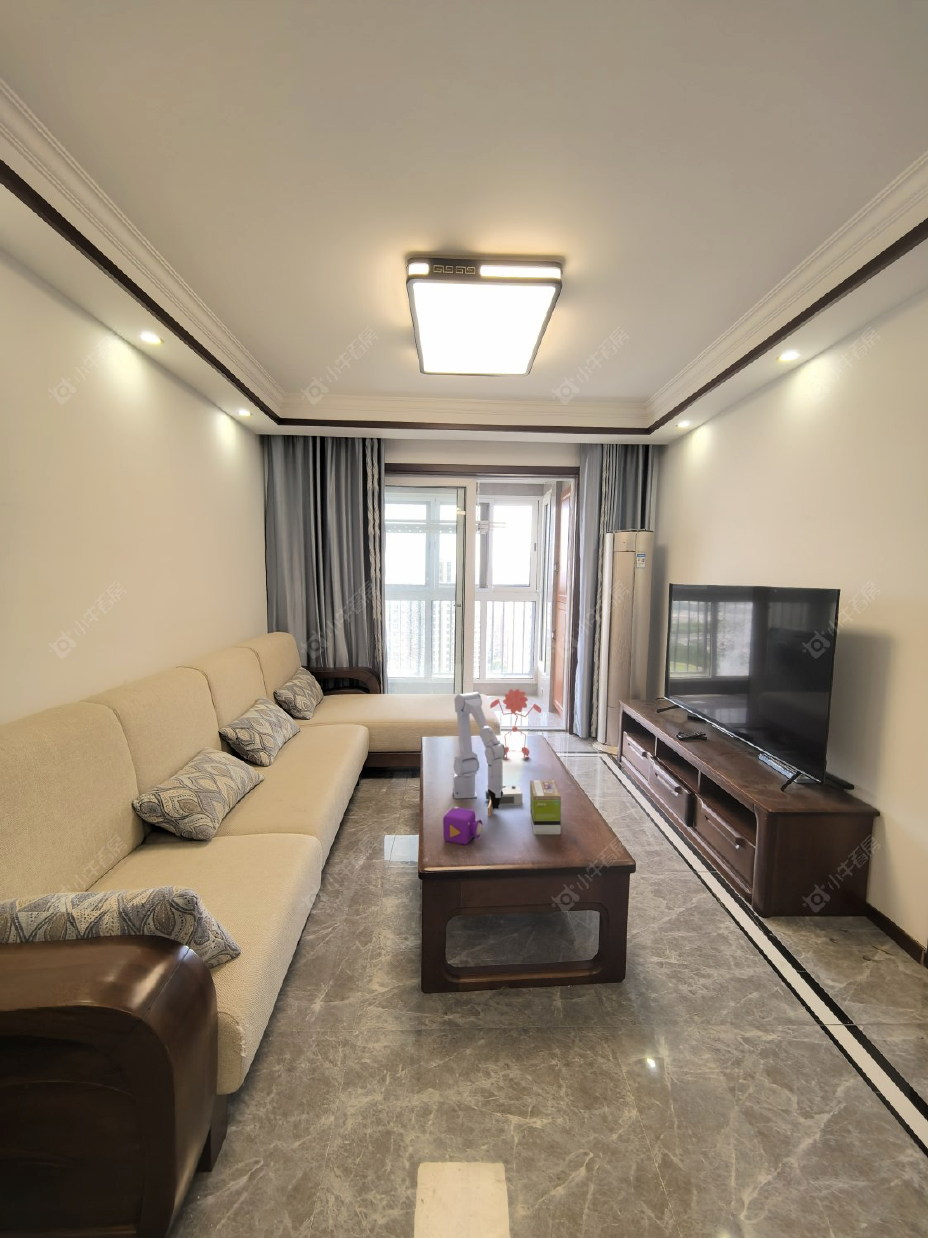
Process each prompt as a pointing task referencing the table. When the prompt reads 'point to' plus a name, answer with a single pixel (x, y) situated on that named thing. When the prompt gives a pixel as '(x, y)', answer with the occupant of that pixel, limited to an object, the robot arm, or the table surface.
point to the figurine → (515, 703)
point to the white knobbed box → (509, 796)
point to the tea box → (545, 807)
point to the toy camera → (461, 826)
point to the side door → (489, 808)
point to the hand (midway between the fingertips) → (495, 808)
